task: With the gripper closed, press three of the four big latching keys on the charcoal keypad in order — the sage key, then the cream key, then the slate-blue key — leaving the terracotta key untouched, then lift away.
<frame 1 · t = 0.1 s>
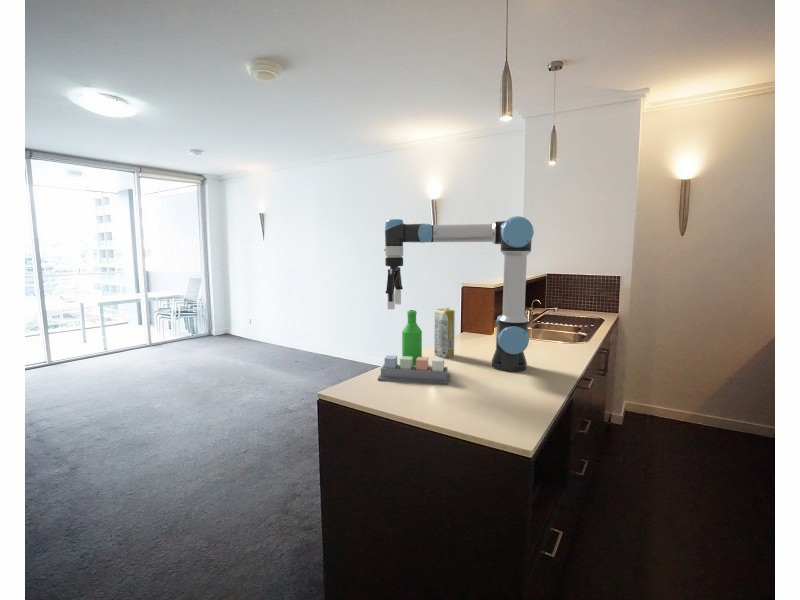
hand: (394, 306, 173), 28 cm above the worktop, fingers open, 13 cm apart
key cream: (438, 365, 163), point 6 cm above the worktop, slide at 0.0 cm
bottle: (412, 365, 184), on the worktop
key terracotta: (422, 364, 164), point 6 cm above the worktop, slide at 0.0 cm
keypad: (414, 378, 166), on the worktop
key sage: (406, 363, 166), point 6 cm above the worktop, slide at 0.0 cm
juice carton: (444, 355, 199), on the worktop
key slate: (390, 363, 167), point 6 cm above the worktop, slide at 0.0 cm
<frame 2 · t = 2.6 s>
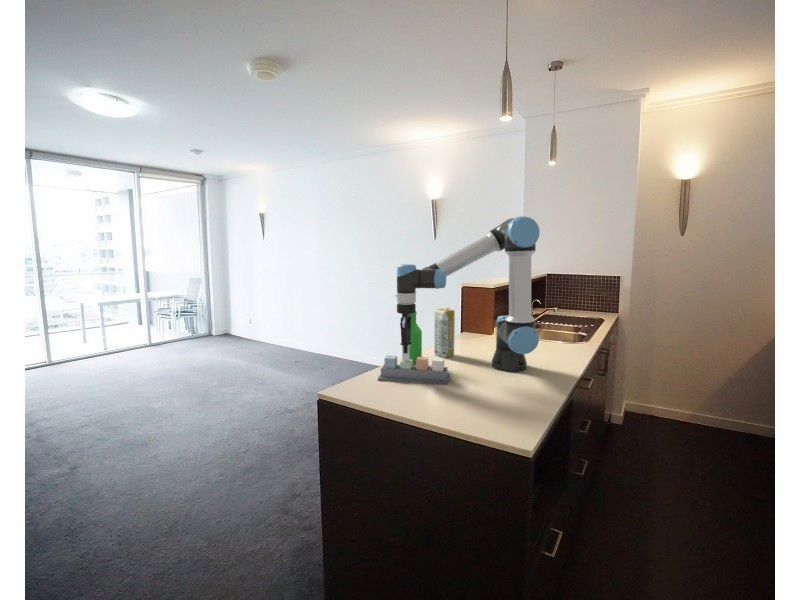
hand: (405, 360, 165), 7 cm above the worktop, fingers closed
key sage: (406, 366, 166), point 5 cm above the worktop, slide at 1.2 cm
everything else where it was.
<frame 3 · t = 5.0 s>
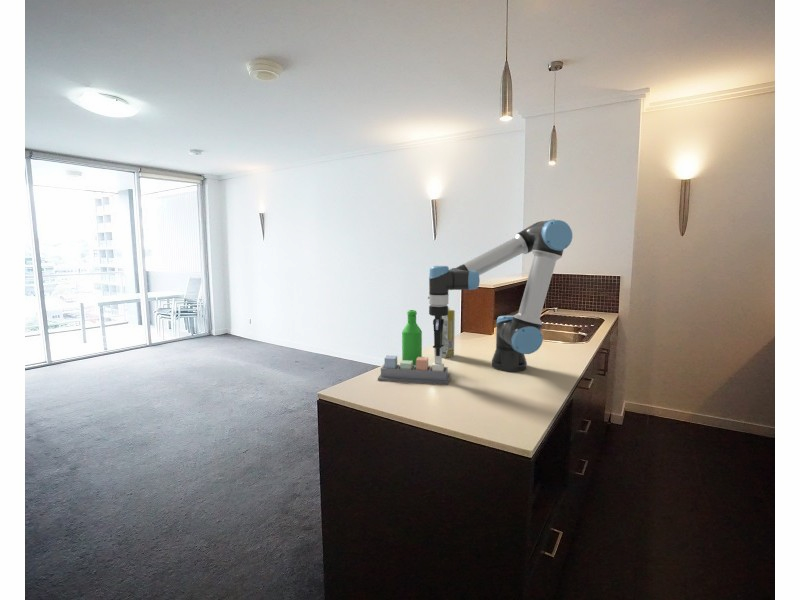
hand: (438, 362, 163), 7 cm above the worktop, fingers closed
key cream: (438, 369, 163), point 4 cm above the worktop, slide at 1.7 cm, touching gripper
key sage: (406, 367, 166), point 4 cm above the worktop, slide at 1.7 cm
everything else where it was.
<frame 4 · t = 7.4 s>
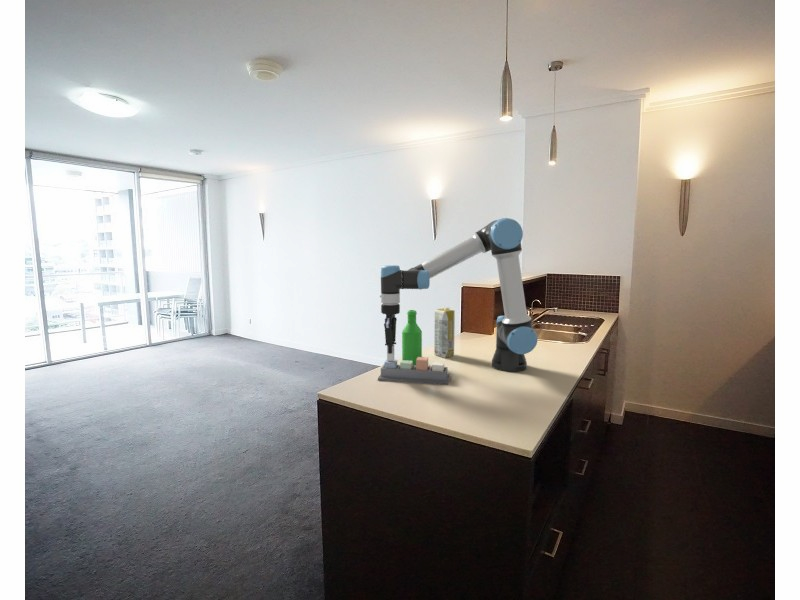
hand: (390, 360, 167), 7 cm above the worktop, fingers closed
key cream: (438, 369, 163), point 4 cm above the worktop, slide at 1.7 cm
key slate: (391, 366, 167), point 4 cm above the worktop, slide at 1.6 cm, touching gripper
everything else where it was.
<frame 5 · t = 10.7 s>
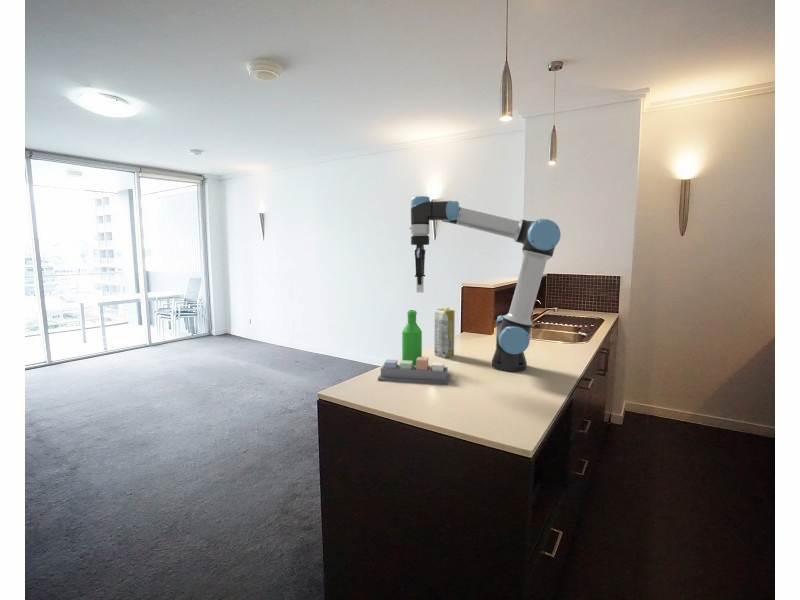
hand: (420, 292, 170), 34 cm above the worktop, fingers closed
key slate: (391, 367, 167), point 4 cm above the worktop, slide at 1.7 cm
everything else where it was.
at the end: key sage slide at 1.7 cm; key cream slide at 1.7 cm; key slate slide at 1.7 cm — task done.
